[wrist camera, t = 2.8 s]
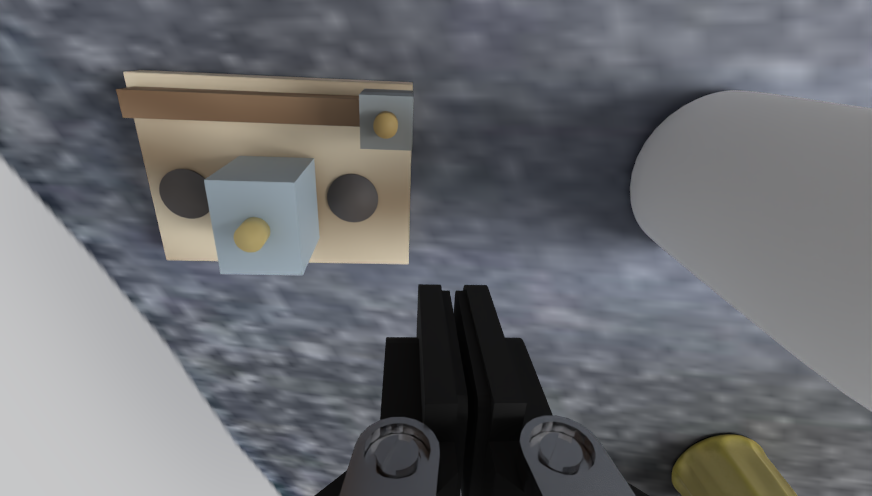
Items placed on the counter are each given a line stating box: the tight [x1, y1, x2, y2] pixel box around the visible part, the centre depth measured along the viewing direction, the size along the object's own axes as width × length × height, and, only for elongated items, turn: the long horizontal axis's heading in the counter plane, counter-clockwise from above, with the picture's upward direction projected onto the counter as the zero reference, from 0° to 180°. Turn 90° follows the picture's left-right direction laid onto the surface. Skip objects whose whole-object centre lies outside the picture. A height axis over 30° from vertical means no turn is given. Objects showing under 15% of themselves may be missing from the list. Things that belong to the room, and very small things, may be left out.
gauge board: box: [116, 70, 413, 264], centre depth 18 cm, size 8×11×5 cm
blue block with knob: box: [204, 156, 320, 275], centre depth 17 cm, size 4×3×4 cm
